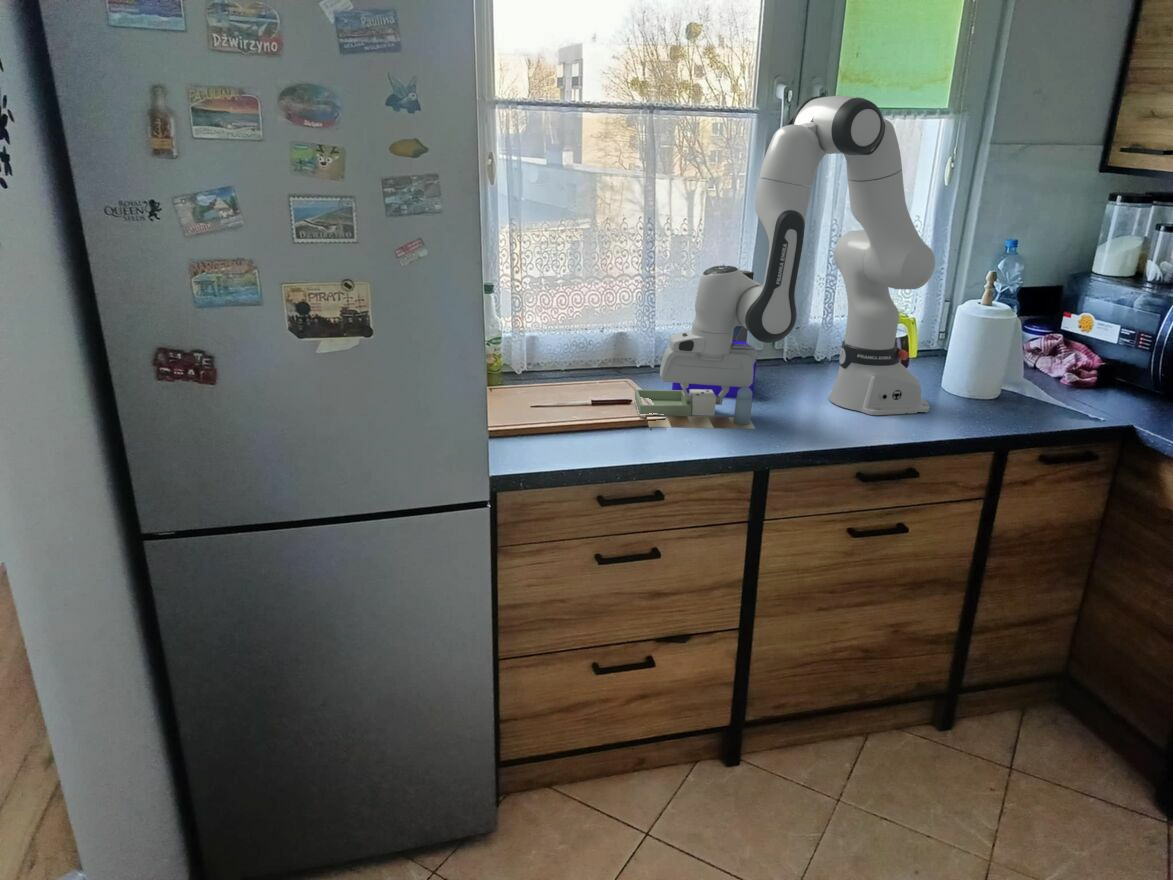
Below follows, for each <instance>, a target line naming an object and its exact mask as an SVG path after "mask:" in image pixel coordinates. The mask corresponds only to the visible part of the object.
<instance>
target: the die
mask: <svg viewBox="0 0 1173 880" xmlns="http://www.w3.org/2000/svg"><path fill="white" fill-rule="evenodd" d="M689 393H691V395H692V399H691V400H692V402H691V403H690V404H691V406H692V408H691V416H715V415H716V414H715V413H716V405H715V404H716V396H715V394H714V392H713V391H712V390H702V389H690V390H689Z"/></svg>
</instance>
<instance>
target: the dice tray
mask: <svg viewBox="0 0 1173 880" xmlns="http://www.w3.org/2000/svg"><path fill="white" fill-rule="evenodd" d="M634 397H635V400H636V404H637V407H638V410H639V413H640V414H649V413H652V414H653V413H658V414H664V415H666V416H692V414H691V408H692V406H691V404H690V403H685V402H684V392H683V390H672V389H634ZM640 397H643V398H649V399H651V400H652V402H653V403H654V405H643V404H642V401H641V398H640Z"/></svg>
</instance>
